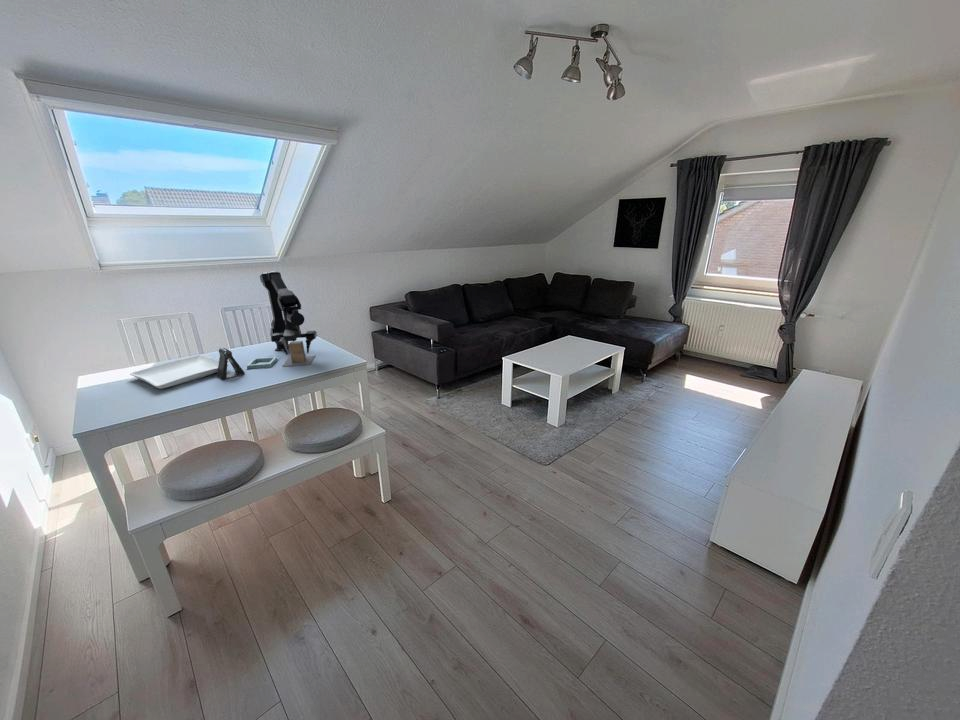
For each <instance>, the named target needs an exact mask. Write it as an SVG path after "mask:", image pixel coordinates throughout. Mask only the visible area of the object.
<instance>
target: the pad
mask: <svg viewBox="0 0 960 720" xmlns="http://www.w3.org/2000/svg"><path fill="white" fill-rule="evenodd" d="M305 357H306V359H305V360H304V362H296V363H292V360H291V356H290V357H288V358H287V359H286V361H284V363H283V364H282V365H281V367H282V368H284V367H297V366H298V367H299V366H308V365H309V366H310V365H311V364H312V362H313V360H314V358H315V357H316V355H305Z"/></svg>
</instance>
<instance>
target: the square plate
mask: <svg viewBox="0 0 960 720" xmlns="http://www.w3.org/2000/svg"><path fill="white" fill-rule="evenodd" d="M218 365H219V359H215V358H212V357H210V356H206V355H203V354H199V355H198V354H197V355H194V356H189V357H185V358H182V359H177V360H173V361H170V362H169V361H168V362H165V363H162V364H158V365H154V366H150V367H147V368H142V369H140V370H137V371H136V370H135V371H133V372H130V373H129V375H131V376H132V377H134V378H136V379H138V380H141V381H143V382H146V383H148V384H149V385H152V386H153V387H155V388H157V389H160V390H161V389H166V388H167V389H168V388H171V387H174V386H179V385H181V384H185V383H187V382H188V383H189V382H191V381H194V380H198V379H201V378H204V377H207V376H210V375H211V376H212V375H213V374H217V371H218ZM228 366H230V364H229V363H227V367H228Z"/></svg>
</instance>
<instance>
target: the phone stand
mask: <svg viewBox="0 0 960 720" xmlns="http://www.w3.org/2000/svg"><path fill="white" fill-rule="evenodd" d="M218 353H219V359H218V361H219V365H218V371H217V372H216V377H217V378H219V379H220V380H223V381H224V380H229V379H230V378H235V377H238V376H242V375H245V374H246V373H245V371H244V369H242V367H241V366H240V364H239V363H238V362H237V361H236V359H235V358H234V357H233V352H232V350H229V349H227V348H226V347H223V348H219V349H218ZM228 362H229V363H230V365H231V366H232V368H233V370H234V371H230V372H228V366H227V364H228Z"/></svg>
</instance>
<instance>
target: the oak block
mask: <svg viewBox="0 0 960 720" xmlns="http://www.w3.org/2000/svg"><path fill="white" fill-rule="evenodd" d="M303 342H304V341H303V340H296V341H289V343H288V344H289V349H288V350H289V353H290V357H291V360H292V363H296V362H304V360H305V359H306V357H305V356H306V352H305V348H304V343H303Z"/></svg>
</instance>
